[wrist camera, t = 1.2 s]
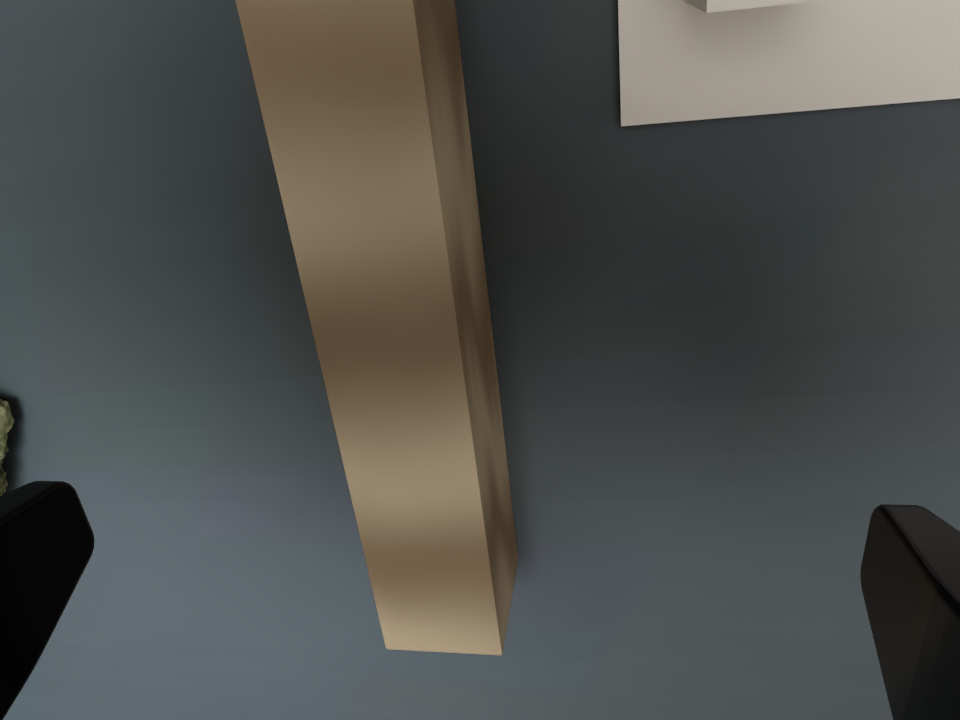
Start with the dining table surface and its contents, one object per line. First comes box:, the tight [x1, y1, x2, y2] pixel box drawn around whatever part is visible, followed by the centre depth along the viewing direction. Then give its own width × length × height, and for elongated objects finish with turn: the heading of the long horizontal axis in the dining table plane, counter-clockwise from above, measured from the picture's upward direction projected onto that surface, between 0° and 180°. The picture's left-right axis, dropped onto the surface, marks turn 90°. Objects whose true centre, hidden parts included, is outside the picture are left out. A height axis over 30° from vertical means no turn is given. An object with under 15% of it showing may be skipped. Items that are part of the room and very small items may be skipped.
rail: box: [236, 0, 518, 655], centre depth 19 cm, size 20×4×5 cm, turn 6°
